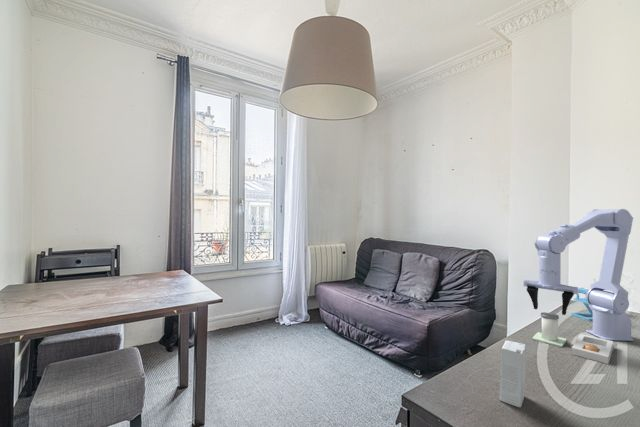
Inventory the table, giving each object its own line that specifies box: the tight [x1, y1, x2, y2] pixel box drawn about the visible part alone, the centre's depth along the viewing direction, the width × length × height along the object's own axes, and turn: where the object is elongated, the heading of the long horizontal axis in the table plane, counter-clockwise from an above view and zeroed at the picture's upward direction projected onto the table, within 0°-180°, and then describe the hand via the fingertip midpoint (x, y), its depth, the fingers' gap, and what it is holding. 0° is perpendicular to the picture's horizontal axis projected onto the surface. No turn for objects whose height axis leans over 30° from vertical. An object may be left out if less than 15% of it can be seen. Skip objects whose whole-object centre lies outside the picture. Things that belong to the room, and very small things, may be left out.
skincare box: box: [499, 339, 527, 408], centre depth 69 cm, size 6×4×12 cm
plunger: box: [585, 344, 597, 352], centre depth 91 cm, size 3×3×2 cm
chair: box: [570, 287, 593, 322], centre depth 125 cm, size 8×8×12 cm
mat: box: [531, 331, 568, 348], centre depth 102 cm, size 8×8×1 cm
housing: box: [571, 333, 614, 365], centre depth 94 cm, size 16×8×2 cm, turn 132°
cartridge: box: [540, 311, 560, 341], centre depth 102 cm, size 5×5×8 cm
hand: (549, 311), depth 102 cm, fingers open, 7 cm apart
